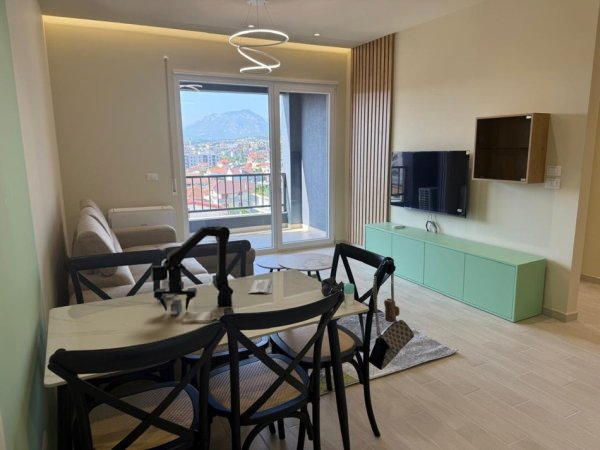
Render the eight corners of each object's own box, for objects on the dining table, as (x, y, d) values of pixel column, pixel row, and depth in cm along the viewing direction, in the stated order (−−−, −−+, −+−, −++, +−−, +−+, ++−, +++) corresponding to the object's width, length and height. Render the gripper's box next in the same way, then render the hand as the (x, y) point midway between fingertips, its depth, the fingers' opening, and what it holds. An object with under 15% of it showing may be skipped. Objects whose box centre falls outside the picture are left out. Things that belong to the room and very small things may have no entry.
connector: (182, 308, 201) (182, 298, 200) (177, 318, 190) (177, 307, 189) (174, 308, 201) (174, 299, 200) (169, 318, 189) (168, 307, 188)
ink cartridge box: (170, 292, 225) (169, 265, 222) (178, 292, 224) (177, 266, 221) (162, 297, 216) (160, 270, 214) (171, 298, 215) (169, 270, 213)
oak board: (212, 314, 195) (212, 311, 194) (209, 322, 185) (209, 320, 185) (186, 314, 194) (186, 312, 193) (182, 323, 184) (182, 320, 184)
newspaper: (271, 295, 223) (270, 291, 222) (248, 297, 223) (248, 292, 223) (274, 282, 245) (274, 278, 245) (254, 283, 246) (253, 279, 245)
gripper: (198, 273, 202) (199, 303, 205) (158, 273, 200) (160, 304, 203) (194, 280, 191) (195, 312, 194) (152, 280, 189) (154, 313, 192)
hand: (176, 310), depth 196 cm, fingers open, 9 cm apart
